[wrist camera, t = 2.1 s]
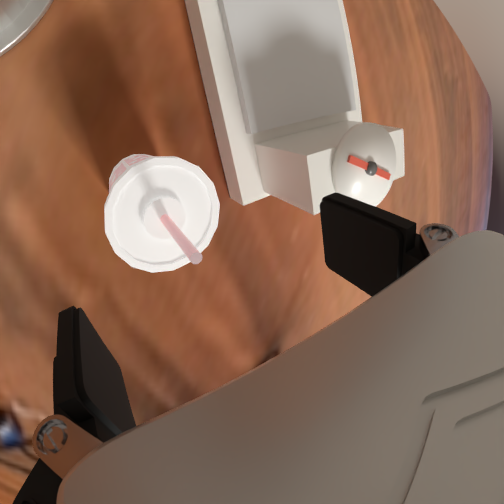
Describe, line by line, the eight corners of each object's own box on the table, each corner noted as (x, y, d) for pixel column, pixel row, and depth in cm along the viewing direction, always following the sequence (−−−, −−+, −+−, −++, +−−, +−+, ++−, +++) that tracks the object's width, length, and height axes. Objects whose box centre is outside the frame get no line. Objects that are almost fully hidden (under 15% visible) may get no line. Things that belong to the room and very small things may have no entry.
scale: (183, -5, 17) (239, -59, 10) (322, -7, 22) (400, -27, 14) (232, 205, 27) (298, 247, 19) (348, 162, 32) (423, 185, 24)
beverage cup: (127, 236, 24) (174, 352, 12) (83, 175, 20) (76, 245, 9) (189, 192, 25) (288, 266, 14) (152, 128, 21) (229, 139, 10)
